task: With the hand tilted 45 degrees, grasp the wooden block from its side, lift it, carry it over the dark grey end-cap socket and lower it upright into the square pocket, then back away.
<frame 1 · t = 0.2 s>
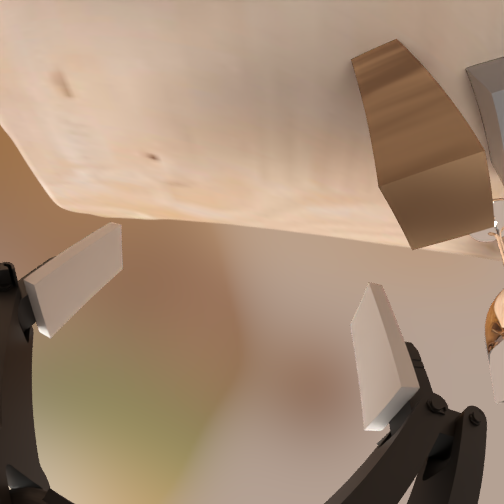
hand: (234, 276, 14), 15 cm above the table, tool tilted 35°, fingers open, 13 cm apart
wineglass: (492, 219, 24), on the table
wooden block: (387, 70, 16), on the table
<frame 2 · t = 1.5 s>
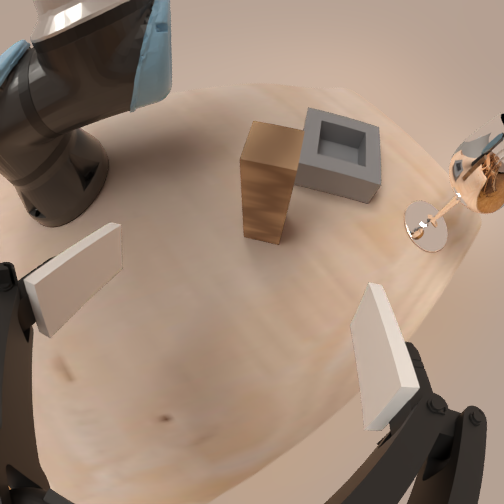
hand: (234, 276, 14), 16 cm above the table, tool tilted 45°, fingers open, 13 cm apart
wineglass: (425, 226, 33), on the table
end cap: (334, 163, 36), on the table
wooden block: (265, 225, 33), on the table
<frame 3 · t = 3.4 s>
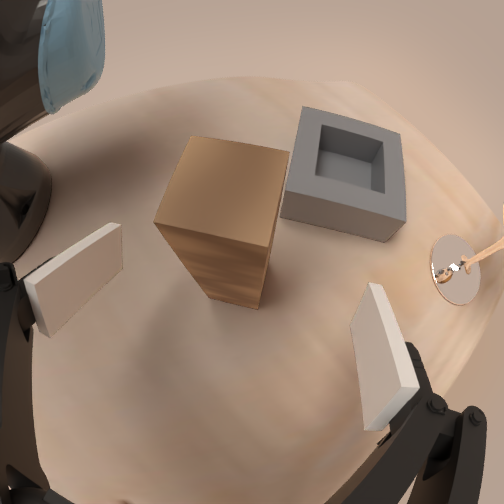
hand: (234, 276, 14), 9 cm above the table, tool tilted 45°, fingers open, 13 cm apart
wineglass: (455, 269, 24), on the table
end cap: (339, 184, 26), on the table
wooden block: (239, 280, 23), on the table
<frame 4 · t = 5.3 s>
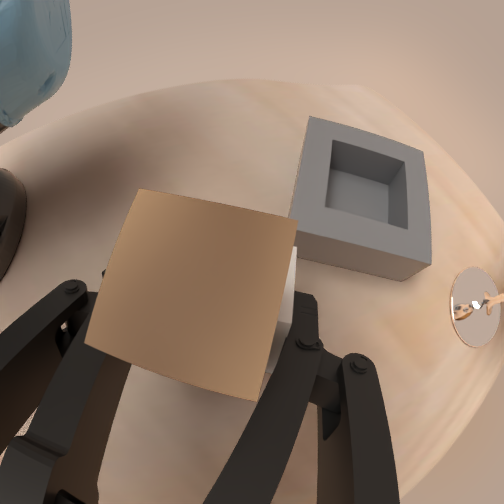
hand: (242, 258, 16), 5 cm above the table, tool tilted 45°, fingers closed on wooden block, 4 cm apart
wineglass: (475, 307, 19), on the table
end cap: (351, 211, 22), on the table
wooden block: (231, 330, 19), on the table, touching gripper
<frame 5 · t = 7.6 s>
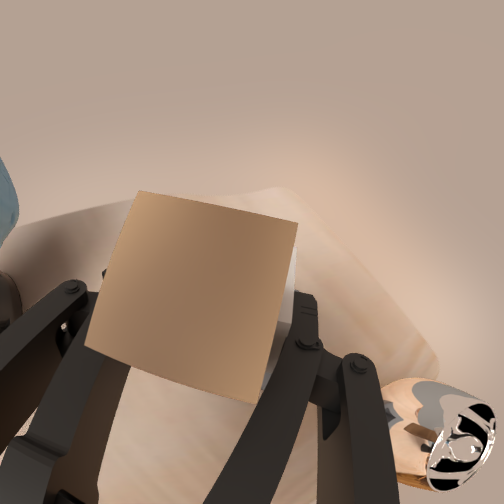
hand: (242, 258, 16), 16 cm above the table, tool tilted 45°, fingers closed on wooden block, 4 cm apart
wineglass: (349, 402, 27), on the table
wooden block: (230, 331, 19), point 11 cm above the table, touching gripper
when the fingers open (7 cm above the table, at t = 10.1 s): wooden block stays where it is, resting on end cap.
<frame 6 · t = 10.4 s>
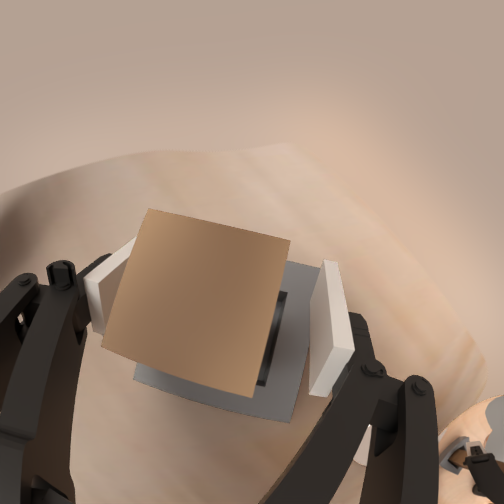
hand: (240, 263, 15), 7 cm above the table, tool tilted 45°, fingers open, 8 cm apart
wineglass: (384, 426, 18), on the table
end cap: (232, 332, 21), on the table
wooden block: (230, 332, 20), point 1 cm above the table, touching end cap
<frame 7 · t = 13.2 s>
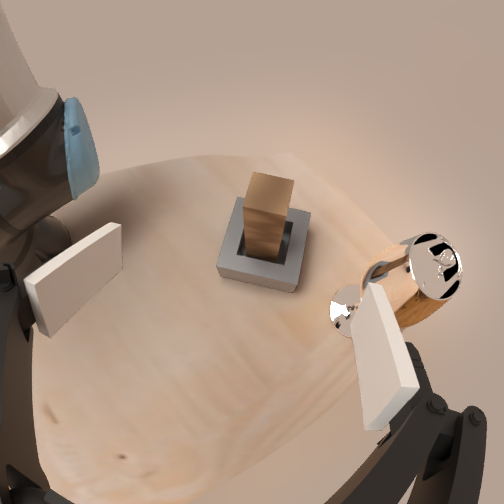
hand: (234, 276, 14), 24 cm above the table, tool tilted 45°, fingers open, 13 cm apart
wineglass: (354, 311, 37), on the table
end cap: (264, 250, 40), on the table
wooden block: (264, 248, 39), point 1 cm above the table, touching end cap
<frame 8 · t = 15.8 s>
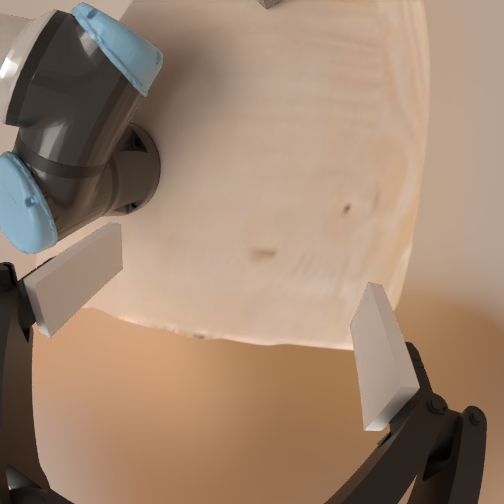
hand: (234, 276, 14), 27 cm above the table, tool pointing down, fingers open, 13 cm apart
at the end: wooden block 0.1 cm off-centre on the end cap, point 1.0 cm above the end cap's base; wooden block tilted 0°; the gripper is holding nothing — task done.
